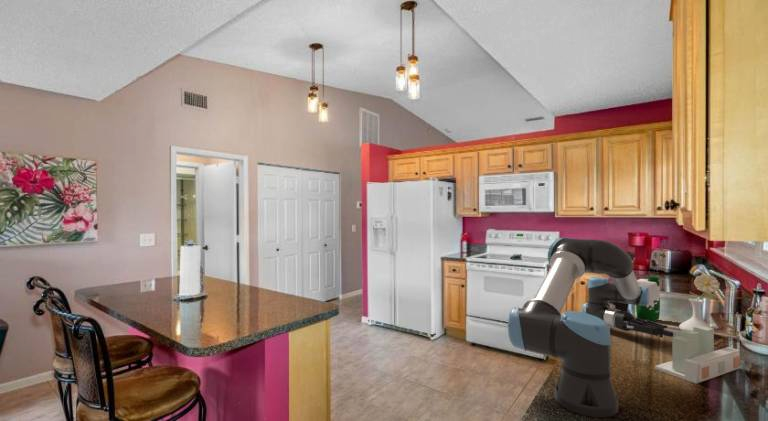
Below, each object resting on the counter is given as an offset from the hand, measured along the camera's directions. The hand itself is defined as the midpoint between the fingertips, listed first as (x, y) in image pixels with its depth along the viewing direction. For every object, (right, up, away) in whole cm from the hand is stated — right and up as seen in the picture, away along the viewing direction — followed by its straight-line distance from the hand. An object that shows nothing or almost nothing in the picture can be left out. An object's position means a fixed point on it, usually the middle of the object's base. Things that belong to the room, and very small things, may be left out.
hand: (684, 337), depth 135 cm
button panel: (-5, -6, -11) cm, 14 cm away
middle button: (-6, -5, -9) cm, 12 cm away
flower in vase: (+24, -6, +22) cm, 33 cm away
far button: (+2, -5, -5) cm, 8 cm away
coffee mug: (+5, -6, +47) cm, 47 cm away
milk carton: (+17, -6, +44) cm, 47 cm away
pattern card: (-2, -6, -17) cm, 18 cm away
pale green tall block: (-13, -5, -16) cm, 21 cm away
